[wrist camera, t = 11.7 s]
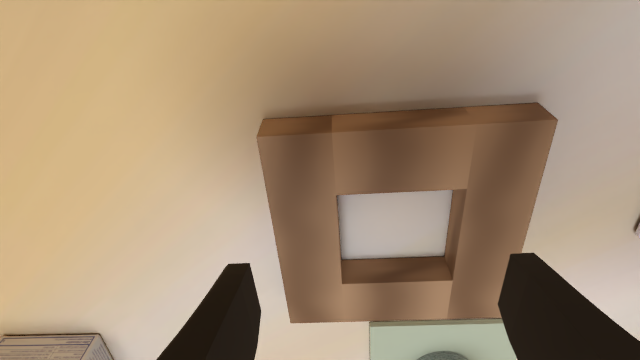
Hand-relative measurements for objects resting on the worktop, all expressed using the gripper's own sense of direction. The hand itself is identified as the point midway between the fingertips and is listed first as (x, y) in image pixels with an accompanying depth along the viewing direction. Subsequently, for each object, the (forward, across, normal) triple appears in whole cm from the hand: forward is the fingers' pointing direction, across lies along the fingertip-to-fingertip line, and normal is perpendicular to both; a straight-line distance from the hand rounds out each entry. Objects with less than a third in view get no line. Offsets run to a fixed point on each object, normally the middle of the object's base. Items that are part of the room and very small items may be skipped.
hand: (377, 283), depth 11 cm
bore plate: (+10, -2, +6) cm, 12 cm away
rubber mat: (+10, -6, +21) cm, 24 cm away
